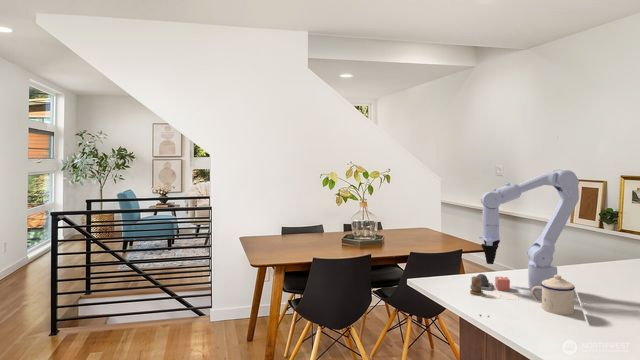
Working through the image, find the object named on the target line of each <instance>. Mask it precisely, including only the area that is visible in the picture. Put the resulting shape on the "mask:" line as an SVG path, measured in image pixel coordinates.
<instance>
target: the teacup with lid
mask: <svg viewBox="0 0 640 360" xmlns="http://www.w3.org/2000/svg"><path fill="white" fill-rule="evenodd" d="M541 285H542V287H541V286H535V287H533V288H531V296H532V298H533V299H534V300H535V301H536V302H538V303H541V309H542V310H543V311H545V312H546V313H549V314H552V315H562V316H563V315H564V316H567V315H568V316H569V315H573V314H574V313H575V289H576V287H575V285H574V284H573V283H572V282H570V281H567V280H566V279H564V278H562V275H560V274H557V275H554V278H551V279H549V280H544V281H542V283H541ZM537 289H542V290H541V299H540V298H538V297H537V295H536V294H535V290H537Z"/></svg>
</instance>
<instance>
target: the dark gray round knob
mask: <svg viewBox="0 0 640 360" xmlns="http://www.w3.org/2000/svg"><path fill="white" fill-rule="evenodd" d="M476 277H481V287H489V283H490V280H489V279H488V277H487V276H486V274H483V273H479V274H478V275H476Z"/></svg>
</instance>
